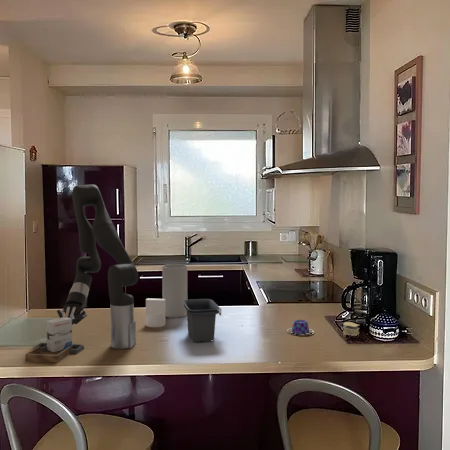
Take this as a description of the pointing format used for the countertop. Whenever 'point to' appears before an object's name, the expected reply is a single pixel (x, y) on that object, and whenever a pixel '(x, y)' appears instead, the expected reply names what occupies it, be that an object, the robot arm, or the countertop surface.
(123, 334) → the robot arm
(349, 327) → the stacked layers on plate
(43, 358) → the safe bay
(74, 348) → the trap pits
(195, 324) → the storage bin
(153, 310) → the cylinder with rectangular tab
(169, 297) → the cylinder vase
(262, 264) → the countertop surface
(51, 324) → the ink box
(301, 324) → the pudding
